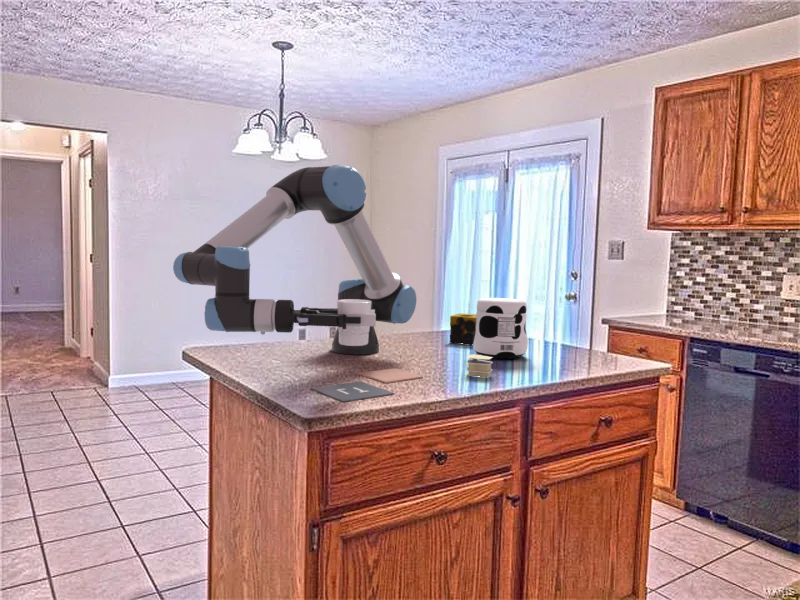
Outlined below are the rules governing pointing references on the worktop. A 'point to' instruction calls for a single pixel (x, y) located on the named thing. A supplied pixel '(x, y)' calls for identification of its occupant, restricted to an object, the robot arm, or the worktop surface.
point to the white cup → (354, 333)
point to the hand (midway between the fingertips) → (374, 317)
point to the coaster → (390, 375)
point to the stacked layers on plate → (479, 366)
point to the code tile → (352, 391)
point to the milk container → (500, 328)
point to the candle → (462, 328)
